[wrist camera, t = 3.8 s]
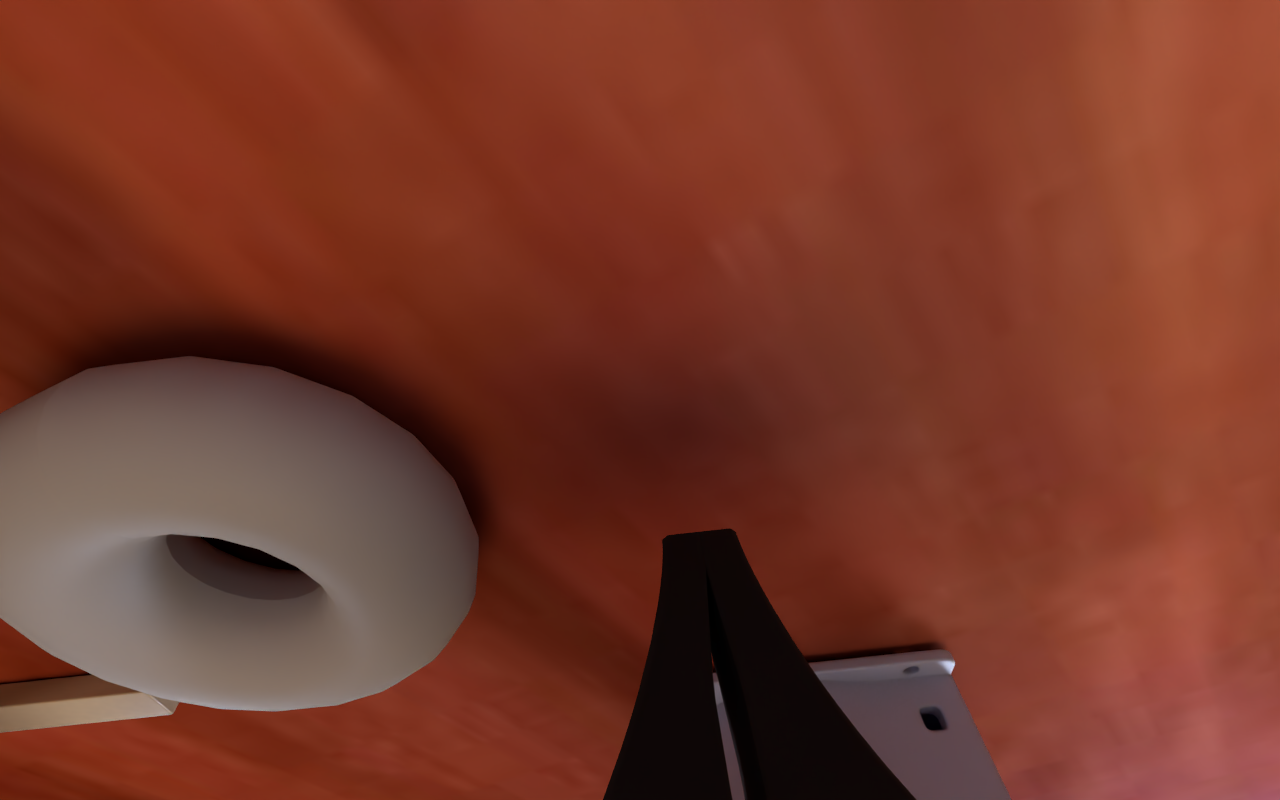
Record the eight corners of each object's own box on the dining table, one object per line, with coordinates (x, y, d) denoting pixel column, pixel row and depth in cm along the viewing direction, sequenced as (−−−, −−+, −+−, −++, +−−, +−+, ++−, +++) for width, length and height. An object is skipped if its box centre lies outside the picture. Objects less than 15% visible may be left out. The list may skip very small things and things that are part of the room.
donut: (317, 649, 19) (570, 530, 16) (266, 770, 16) (561, 654, 13) (-49, 462, 14) (225, 224, 10) (-216, 594, 11) (88, 327, 8)
